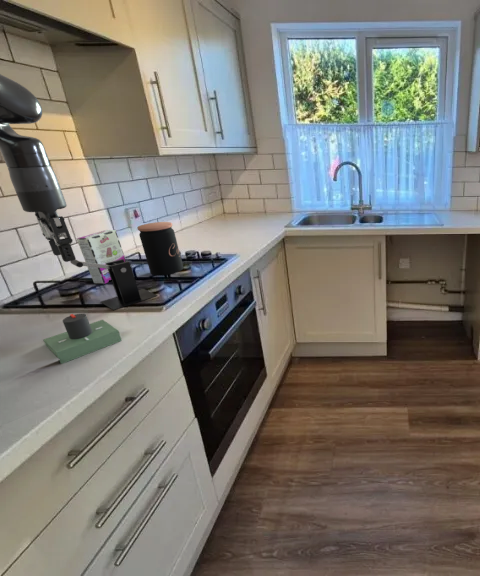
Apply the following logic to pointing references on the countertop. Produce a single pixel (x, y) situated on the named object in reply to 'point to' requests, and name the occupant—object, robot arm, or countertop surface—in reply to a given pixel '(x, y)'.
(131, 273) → the bracket
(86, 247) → the candy bar box
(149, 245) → the coffee jar
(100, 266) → the press lever
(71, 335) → the knob
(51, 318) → the countertop surface
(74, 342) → the panel
